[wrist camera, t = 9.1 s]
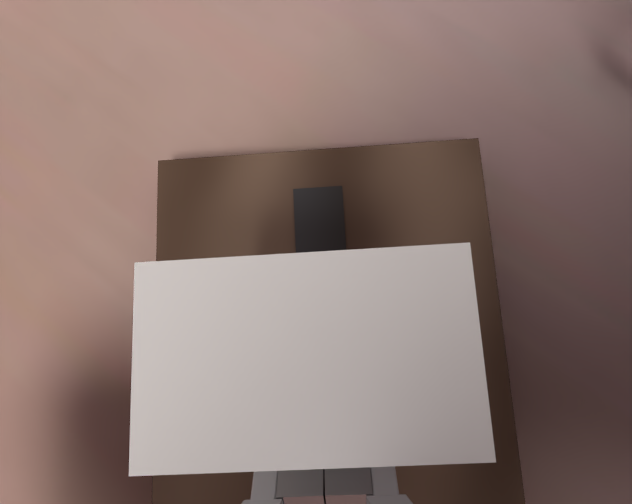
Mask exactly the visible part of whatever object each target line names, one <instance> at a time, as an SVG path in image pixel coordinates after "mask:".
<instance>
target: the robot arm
mask: <svg viewBox="0 0 632 504" xmlns="http://www.w3.org/2000/svg"><path fill="white" fill-rule="evenodd" d="M241 504H413V503H412V502H411V500H410V499H409V498H408V497H407V495H406V494H399V490H398V483H397V476H396V470H395V466H390V467H363V468H337V469H310V470H284V471H258V472H254V474H253V482H252V490H251V498H250V500H244V501H243V502H242V503H241Z"/></svg>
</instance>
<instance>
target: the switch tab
mask: <svg viewBox="0 0 632 504" xmlns="http://www.w3.org/2000/svg"><path fill="white" fill-rule="evenodd" d="M495 462H496V457H495V448H494V440H493V432H492V423H491V415H490V406H489V398H488V390H487V381H486V373H485V364H484V356H483V347H482V339H481V331H480V322H479V314H478V305H477V297H476V289H475V280H474V272H473V263H472V255H471V246H470V242H469V243H452V244H436V245H419V246H402V247H386V248H369V249H352V250H336V251H319V252H302V253H286V254H269V255H252V256H236V257H219V258H203V259H186V260H169V261H153V262H136V263H135V268H134V304H133V339H132V375H131V411H130V447H129V476H152V475H178V474H205V473H231V472H258V471H284V470H310V469H337V468H363V467H390V466H416V465H442V464H469V463H495Z"/></svg>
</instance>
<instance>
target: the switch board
mask: <svg viewBox="0 0 632 504" xmlns="http://www.w3.org/2000/svg"><path fill="white" fill-rule="evenodd" d="M469 242H470V246H471V255H472V263H473V272H474V280H475V289H476V297H477V305H478V314H479V322H480V331H481V339H482V347H483V356H484V364H485V373H486V381H487V390H488V398H489V406H490V415H491V423H492V432H493V440H494V448H495V457H496V462H495V463H469V464H442V465H416V466H395V470H396V476H397V483H398V490H399V494H406V495H407V497H408V498H409V499H410V500H411V502H412V503H413V504H525V498H524V491H523V483H522V475H521V467H520V459H519V452H518V444H517V436H516V428H515V420H514V413H513V405H512V397H511V389H510V381H509V374H508V366H507V358H506V350H505V342H504V335H503V327H502V319H501V311H500V303H499V296H498V288H497V280H496V272H495V264H494V257H493V249H492V241H491V233H490V226H489V218H488V210H487V202H486V194H485V187H484V179H483V171H482V163H481V155H480V148H479V140H478V138H474V139H460V140H446V141H432V142H418V143H404V144H389V145H375V146H361V147H347V148H333V149H318V150H304V151H290V152H276V153H262V154H247V155H233V156H219V157H205V158H191V159H176V160H162V161H158V198H157V252H156V261H169V260H186V259H203V258H219V257H236V256H252V255H269V254H286V253H302V252H319V251H336V250H352V249H369V248H386V247H402V246H419V245H436V244H452V243H469ZM253 474H254V472H231V473H205V474H178V475H152V504H241V503H242V502H243V501H244V500H250V498H251V490H252V482H253Z"/></svg>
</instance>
